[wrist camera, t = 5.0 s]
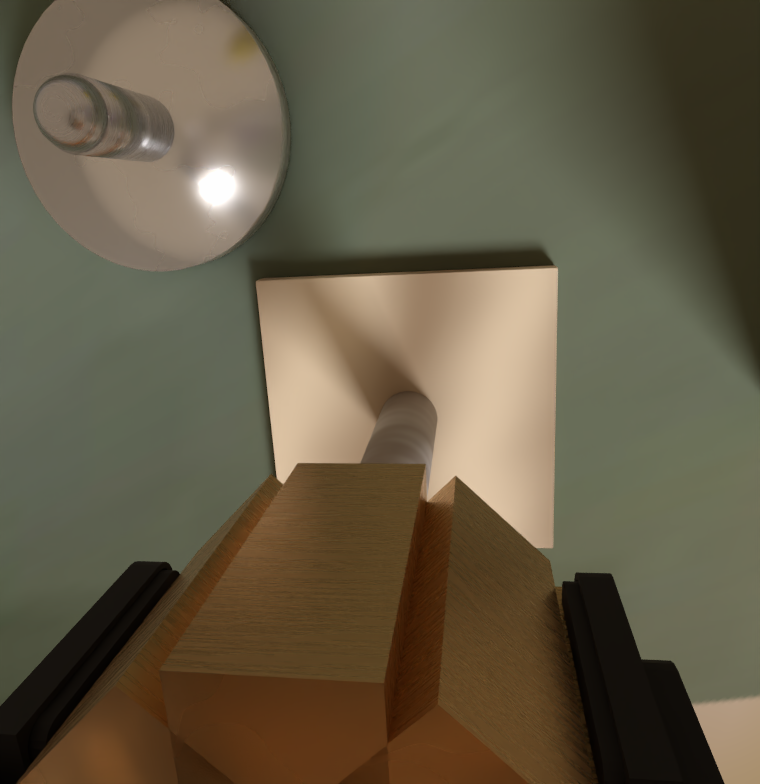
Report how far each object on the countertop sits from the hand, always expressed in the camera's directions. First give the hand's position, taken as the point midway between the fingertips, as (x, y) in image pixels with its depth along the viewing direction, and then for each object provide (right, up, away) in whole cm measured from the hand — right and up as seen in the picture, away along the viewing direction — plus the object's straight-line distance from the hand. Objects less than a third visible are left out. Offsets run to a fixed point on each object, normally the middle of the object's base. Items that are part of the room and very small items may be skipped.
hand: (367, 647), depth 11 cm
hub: (-7, +13, +11) cm, 19 cm away
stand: (+1, +4, +13) cm, 13 cm away
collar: (0, 0, 0) cm, 0 cm away
